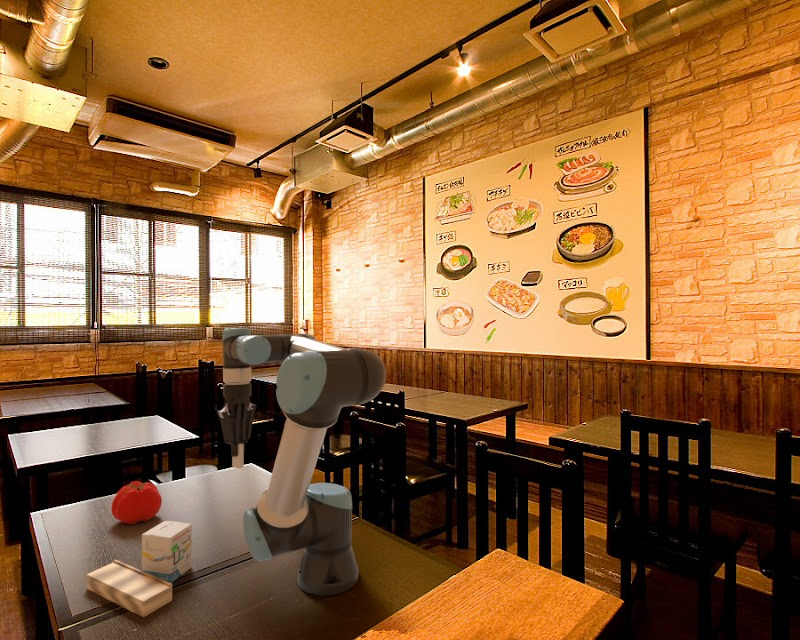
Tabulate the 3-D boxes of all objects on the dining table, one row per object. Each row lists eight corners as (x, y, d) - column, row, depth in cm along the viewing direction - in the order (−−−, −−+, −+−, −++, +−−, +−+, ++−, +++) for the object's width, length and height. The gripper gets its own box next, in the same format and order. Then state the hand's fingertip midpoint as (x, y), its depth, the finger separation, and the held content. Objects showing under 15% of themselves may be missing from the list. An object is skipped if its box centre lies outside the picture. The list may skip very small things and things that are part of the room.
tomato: (164, 522, 150) (164, 485, 150) (112, 533, 142) (112, 494, 142) (158, 507, 161) (158, 473, 161) (110, 517, 153) (109, 481, 153)
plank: (172, 600, 110) (172, 583, 110) (143, 617, 103) (143, 599, 103) (116, 574, 120) (116, 559, 120) (87, 588, 114) (86, 572, 114)
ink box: (169, 585, 116) (169, 538, 116) (140, 580, 118) (140, 534, 118) (192, 566, 124) (192, 523, 124) (164, 562, 126) (164, 519, 126)
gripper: (243, 379, 140) (244, 459, 140) (209, 385, 128) (209, 472, 128) (263, 380, 137) (264, 462, 137) (229, 386, 125) (230, 475, 125)
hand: (237, 467), depth 132 cm, fingers closed
